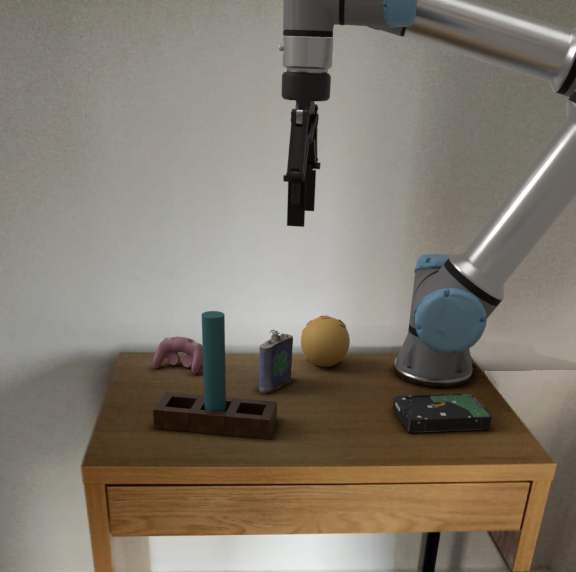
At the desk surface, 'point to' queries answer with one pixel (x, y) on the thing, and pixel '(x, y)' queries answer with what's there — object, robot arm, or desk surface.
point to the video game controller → (179, 344)
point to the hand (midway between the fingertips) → (301, 218)
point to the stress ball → (325, 341)
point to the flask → (275, 362)
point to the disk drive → (441, 413)
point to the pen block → (215, 416)
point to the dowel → (214, 360)
